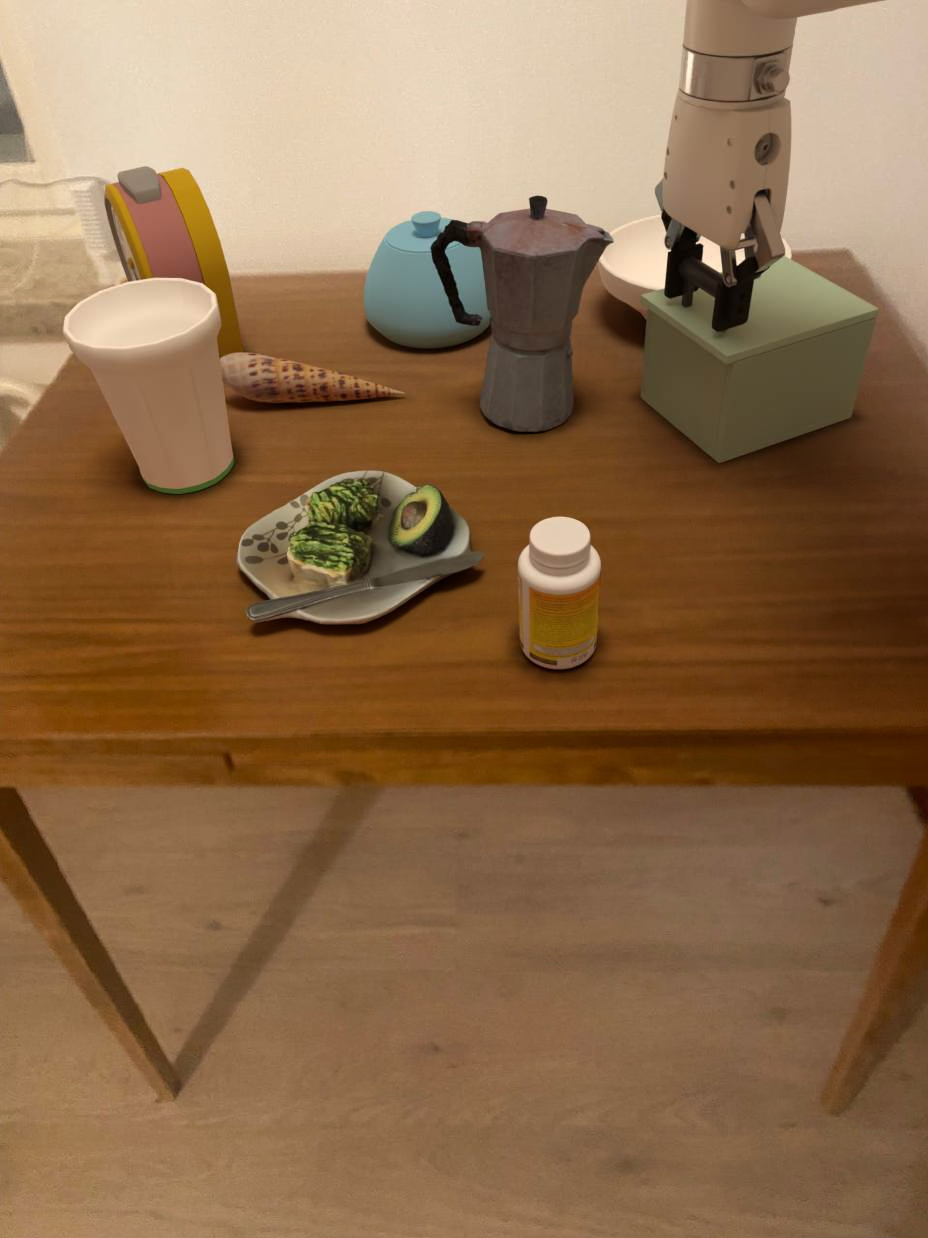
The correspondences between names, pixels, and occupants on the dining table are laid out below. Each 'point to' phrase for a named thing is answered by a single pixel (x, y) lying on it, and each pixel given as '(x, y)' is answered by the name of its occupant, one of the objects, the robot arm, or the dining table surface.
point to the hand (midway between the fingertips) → (704, 307)
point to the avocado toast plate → (353, 549)
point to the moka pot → (526, 307)
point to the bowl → (648, 260)
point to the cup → (159, 376)
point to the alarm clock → (171, 238)
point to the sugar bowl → (423, 287)
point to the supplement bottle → (559, 594)
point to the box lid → (759, 309)
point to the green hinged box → (752, 387)
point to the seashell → (293, 381)
